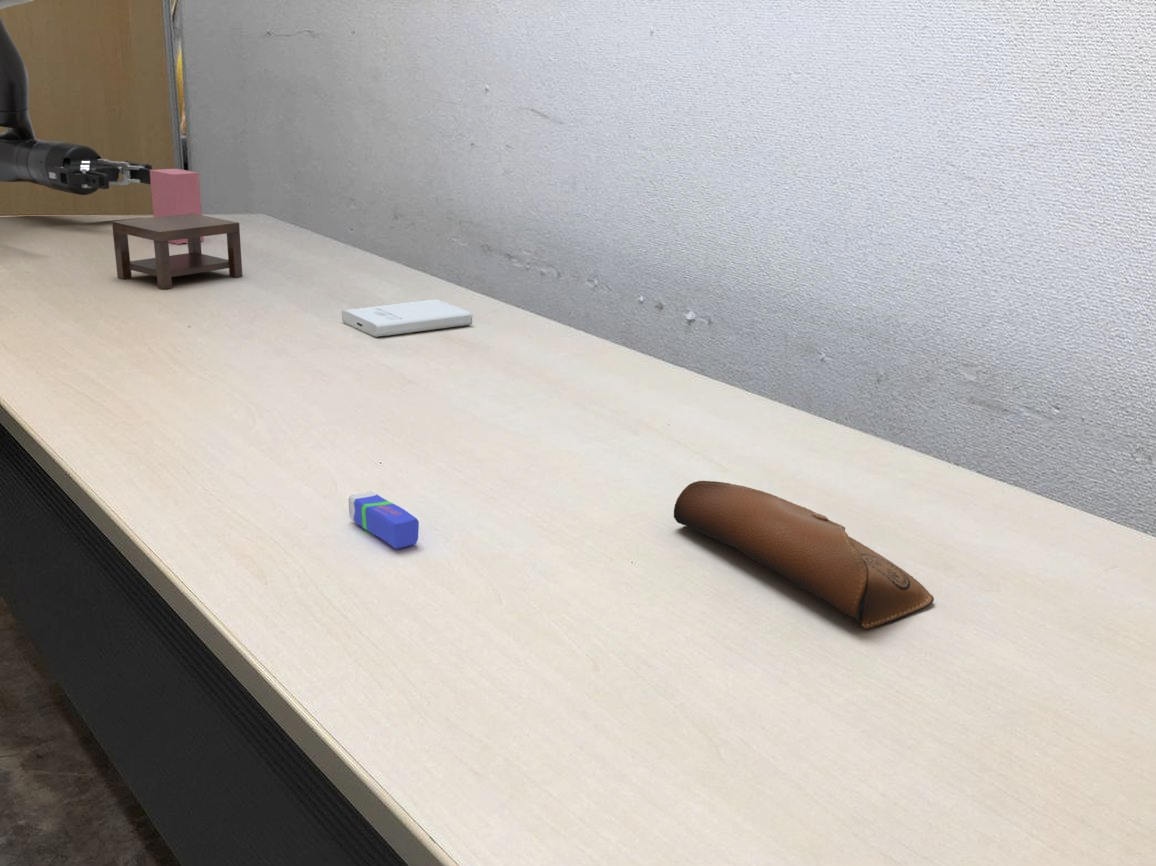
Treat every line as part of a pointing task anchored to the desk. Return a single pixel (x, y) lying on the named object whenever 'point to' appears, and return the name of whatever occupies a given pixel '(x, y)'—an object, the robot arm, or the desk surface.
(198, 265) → the wooden coffee table
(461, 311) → the hard drive
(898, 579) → the sunglasses case
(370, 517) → the eraser
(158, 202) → the pink box
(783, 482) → the desk surface
